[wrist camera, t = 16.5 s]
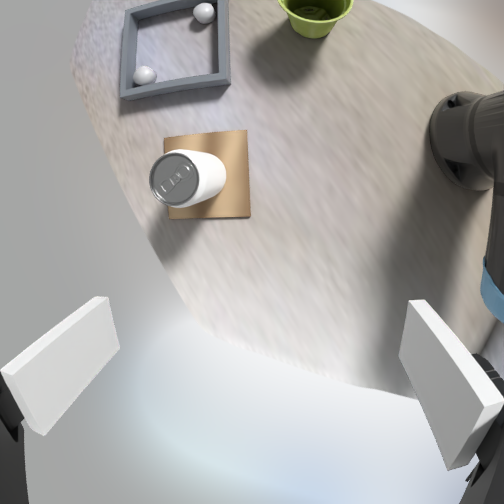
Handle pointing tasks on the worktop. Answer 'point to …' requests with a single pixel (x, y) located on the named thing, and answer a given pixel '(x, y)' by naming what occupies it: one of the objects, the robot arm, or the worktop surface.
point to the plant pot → (315, 15)
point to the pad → (237, 174)
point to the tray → (147, 76)
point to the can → (186, 177)
